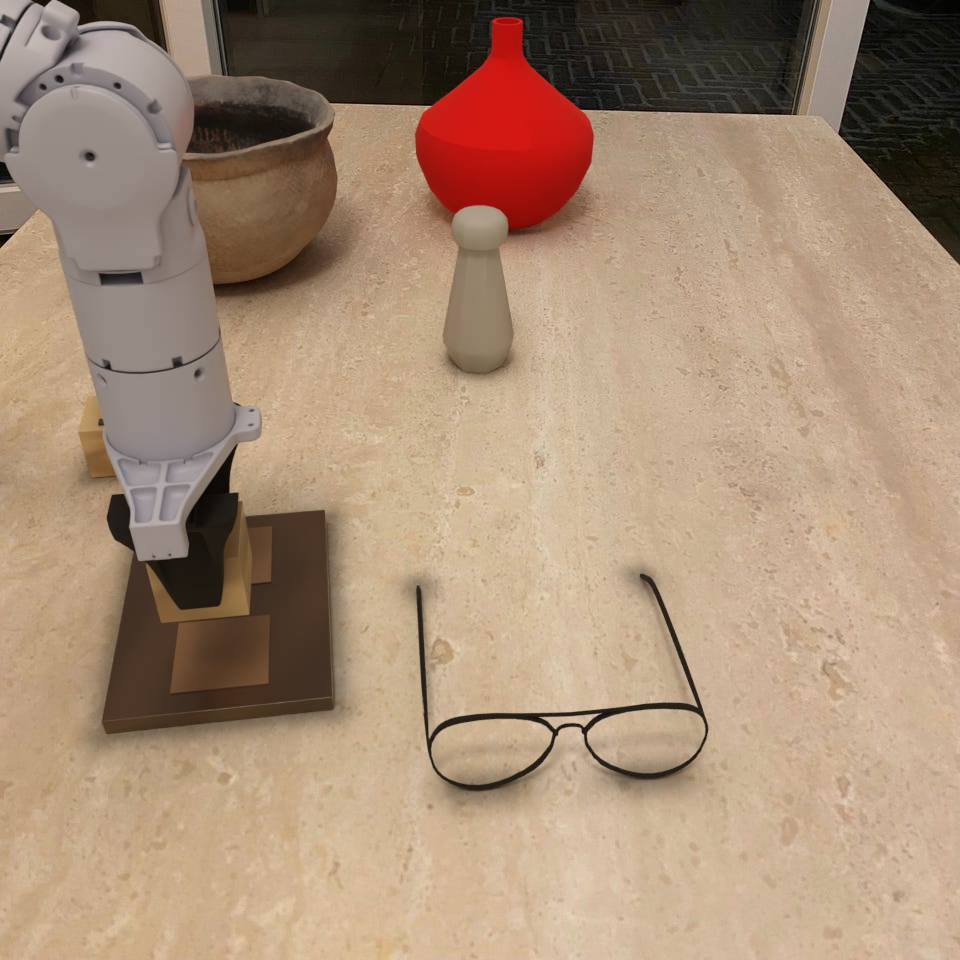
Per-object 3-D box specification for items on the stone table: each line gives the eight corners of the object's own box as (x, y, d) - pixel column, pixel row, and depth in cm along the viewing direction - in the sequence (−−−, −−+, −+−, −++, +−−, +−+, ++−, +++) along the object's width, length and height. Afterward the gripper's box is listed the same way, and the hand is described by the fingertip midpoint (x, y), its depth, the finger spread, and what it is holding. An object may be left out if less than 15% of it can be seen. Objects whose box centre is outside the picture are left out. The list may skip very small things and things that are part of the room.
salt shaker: (435, 348, 85) (432, 200, 77) (499, 338, 86) (503, 192, 78) (454, 384, 80) (454, 231, 72) (522, 373, 82) (528, 222, 74)
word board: (105, 734, 53) (100, 720, 52) (141, 536, 65) (137, 523, 65) (333, 709, 54) (332, 696, 54) (326, 520, 67) (324, 507, 66)
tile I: (90, 478, 70) (76, 429, 67) (100, 441, 73) (87, 393, 71) (155, 473, 71) (143, 424, 68) (161, 437, 74) (151, 389, 71)
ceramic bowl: (115, 228, 103) (81, 77, 94) (325, 207, 108) (312, 61, 98) (116, 332, 86) (74, 161, 77) (365, 301, 91) (353, 136, 82)
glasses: (426, 795, 50) (422, 722, 47) (416, 609, 63) (414, 543, 60) (705, 776, 51) (718, 704, 48) (641, 597, 64) (647, 532, 61)
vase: (622, 212, 108) (642, 22, 96) (508, 265, 97) (514, 59, 85) (497, 167, 118) (501, -10, 106) (381, 211, 107) (371, 20, 95)
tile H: (160, 623, 50) (144, 562, 48) (169, 564, 54) (154, 504, 51) (249, 615, 51) (238, 553, 48) (252, 557, 54) (242, 497, 52)
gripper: (240, 427, 38) (280, 668, 46) (253, 260, 49) (283, 478, 58) (47, 441, 37) (123, 684, 46) (105, 268, 48) (157, 487, 57)
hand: (203, 570), depth 52 cm, fingers closed on tile H, 4 cm apart
